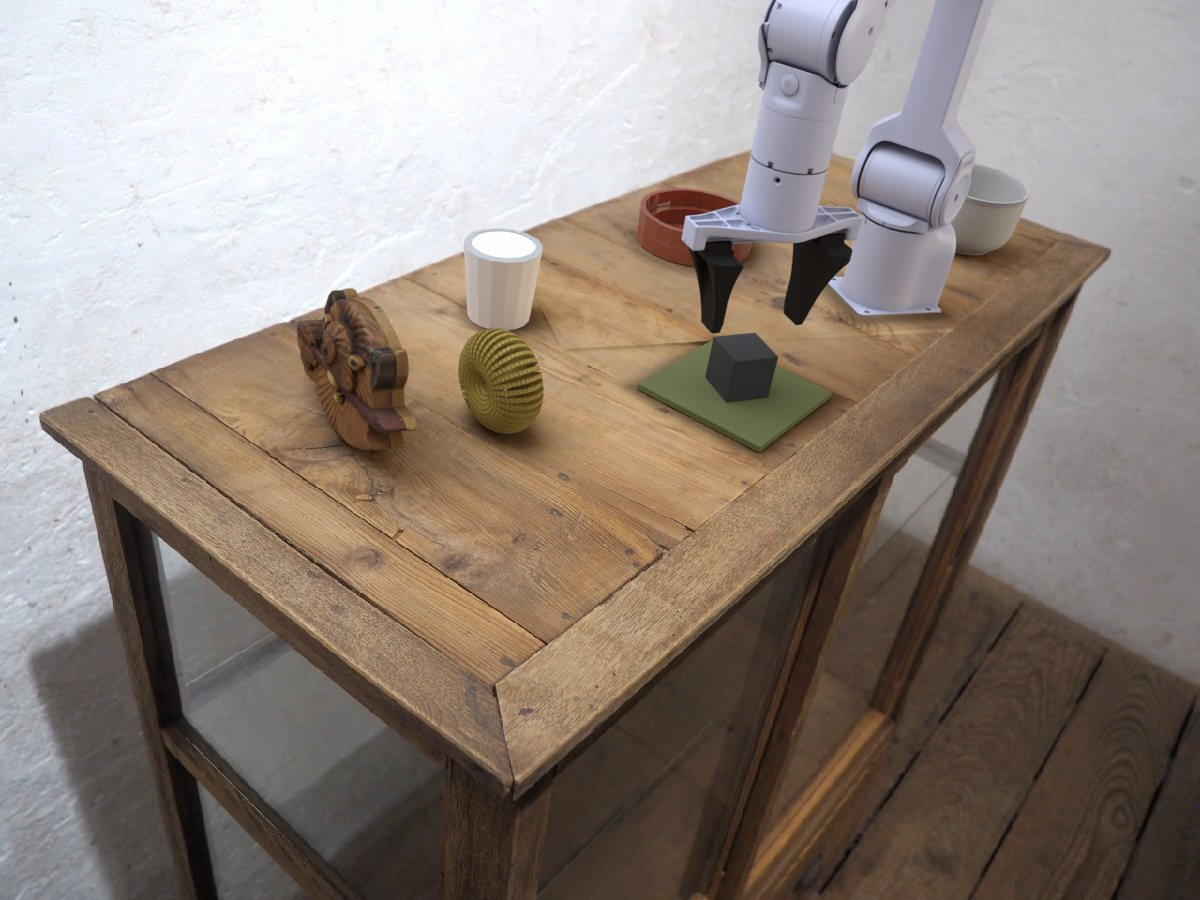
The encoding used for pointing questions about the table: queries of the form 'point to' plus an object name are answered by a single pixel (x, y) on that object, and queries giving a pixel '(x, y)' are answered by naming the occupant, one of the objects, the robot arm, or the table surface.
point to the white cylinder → (501, 277)
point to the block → (741, 367)
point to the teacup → (989, 210)
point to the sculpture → (500, 380)
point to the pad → (739, 419)
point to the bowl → (677, 221)
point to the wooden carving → (358, 371)
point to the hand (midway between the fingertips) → (752, 323)
